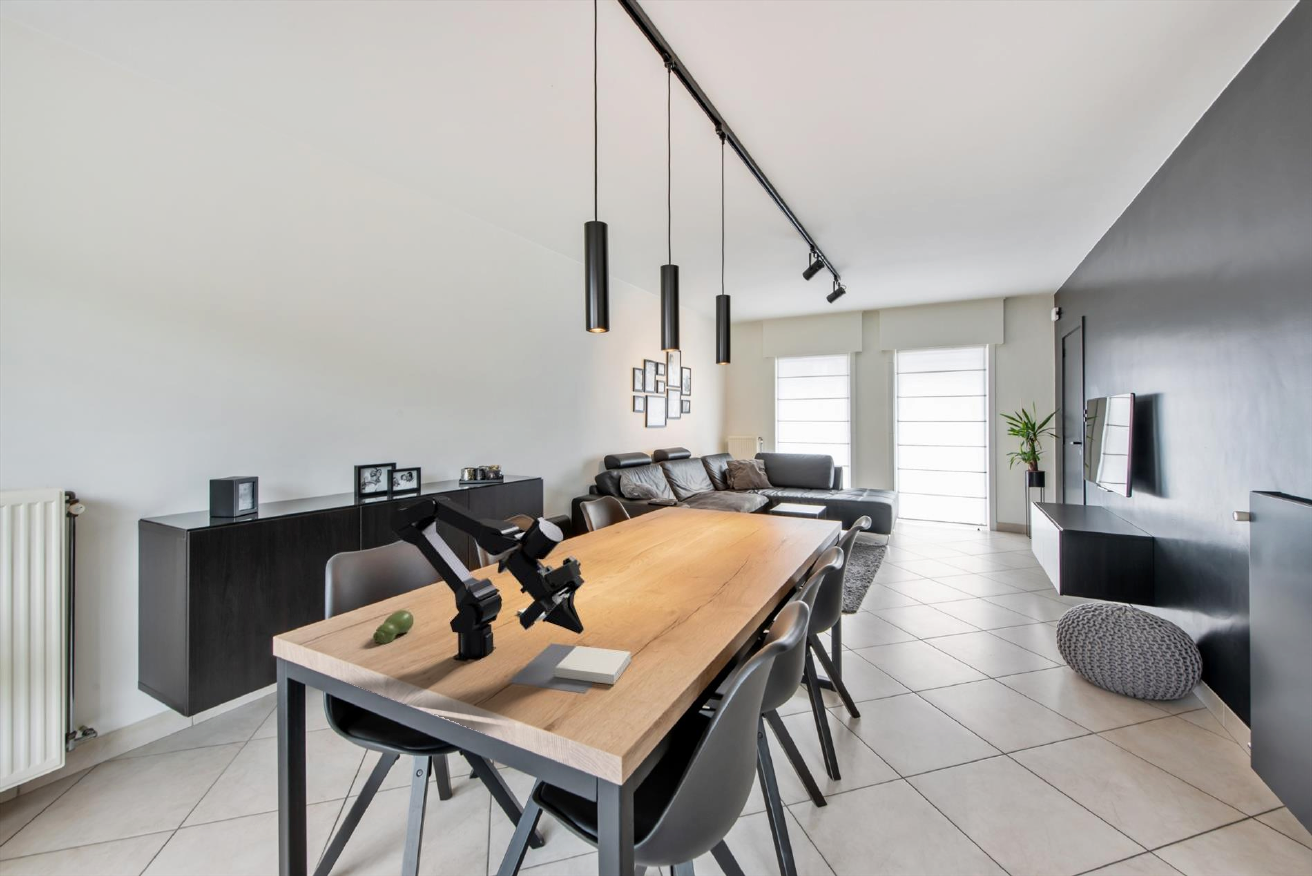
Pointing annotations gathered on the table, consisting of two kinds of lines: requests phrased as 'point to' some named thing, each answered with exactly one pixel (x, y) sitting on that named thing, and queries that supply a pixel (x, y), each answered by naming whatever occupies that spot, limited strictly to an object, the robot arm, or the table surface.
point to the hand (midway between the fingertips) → (581, 632)
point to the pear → (394, 626)
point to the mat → (549, 671)
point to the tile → (593, 664)
